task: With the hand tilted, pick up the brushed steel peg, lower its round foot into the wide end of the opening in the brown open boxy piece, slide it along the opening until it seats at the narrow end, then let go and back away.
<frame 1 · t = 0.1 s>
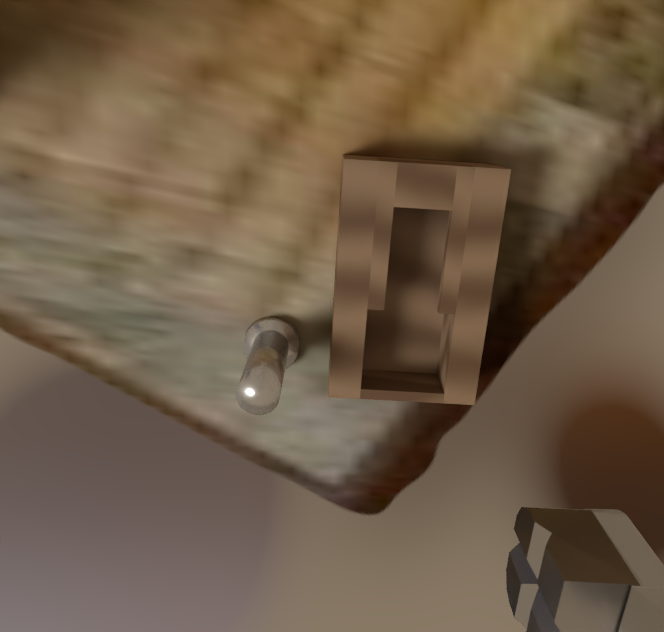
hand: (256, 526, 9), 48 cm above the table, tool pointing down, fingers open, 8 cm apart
brown open boxy piece: (406, 274, 57), on the table
steel peg: (272, 342, 60), on the table
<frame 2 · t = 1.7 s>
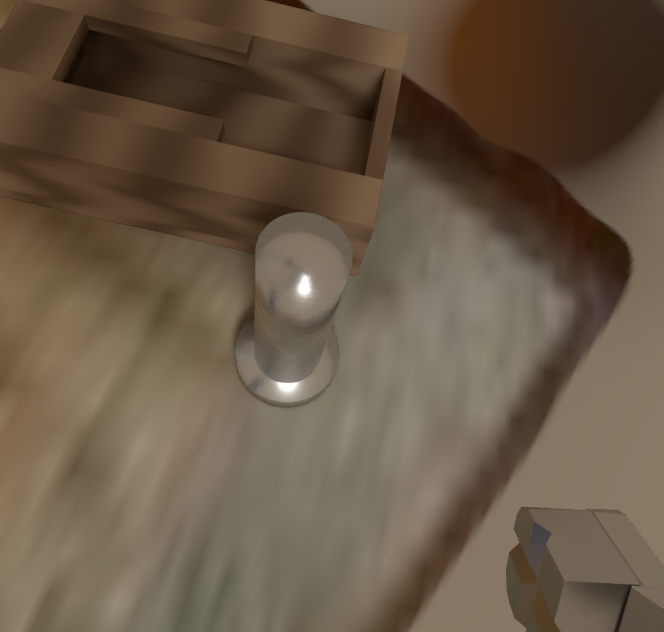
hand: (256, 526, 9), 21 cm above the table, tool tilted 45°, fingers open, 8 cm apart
brown open boxy piece: (207, 143, 37), on the table
steel peg: (286, 358, 32), on the table
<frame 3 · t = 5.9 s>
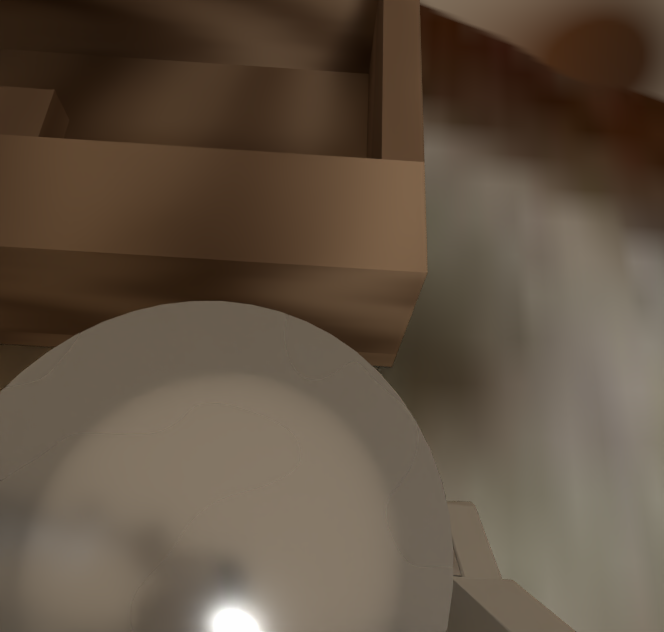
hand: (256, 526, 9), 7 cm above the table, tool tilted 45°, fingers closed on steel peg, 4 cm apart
brown open boxy piece: (77, 160, 20), on the table
steel peg: (273, 581, 15), on the table, touching gripper
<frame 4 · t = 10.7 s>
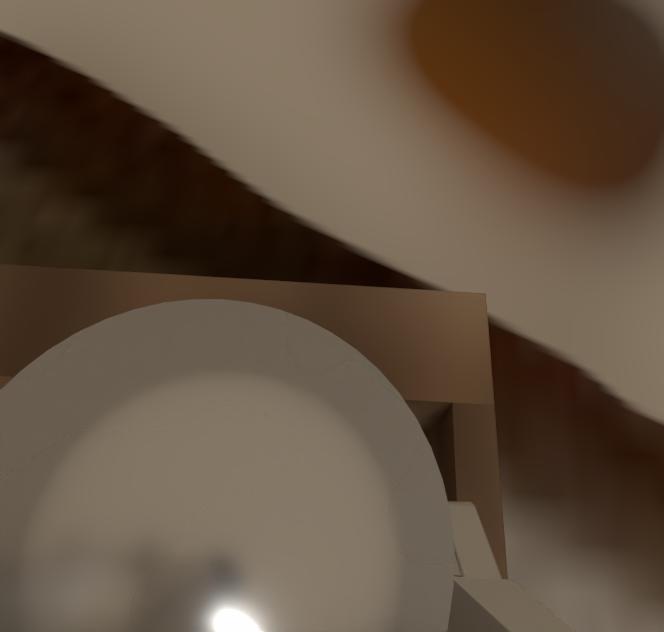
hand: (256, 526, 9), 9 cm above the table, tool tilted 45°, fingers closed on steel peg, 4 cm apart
brown open boxy piece: (72, 572, 17), on the table
steel peg: (273, 580, 15), point 3 cm above the table, touching gripper
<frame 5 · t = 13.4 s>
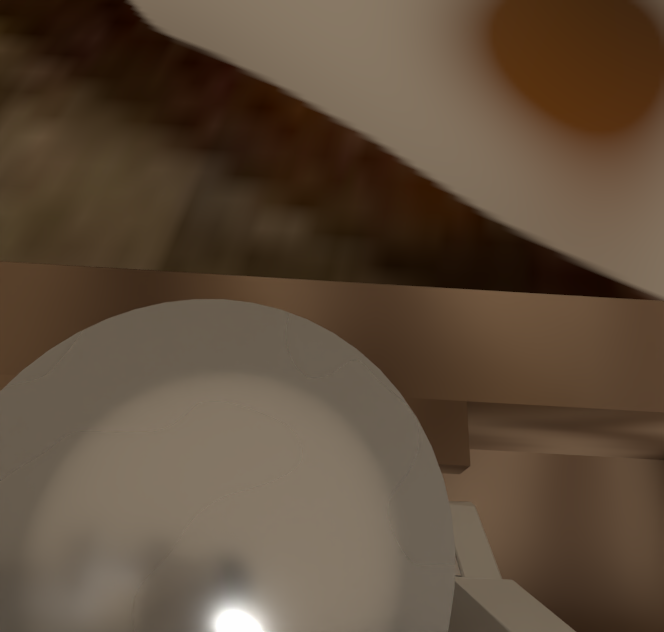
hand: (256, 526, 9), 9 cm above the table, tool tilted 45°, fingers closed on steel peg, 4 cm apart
brown open boxy piece: (358, 588, 17), on the table
steel peg: (273, 580, 15), point 2 cm above the table, touching gripper
when the fingers open (9 cm above the table, at t = 15.6 s): steel peg drops 2 cm, resting on brown open boxy piece.
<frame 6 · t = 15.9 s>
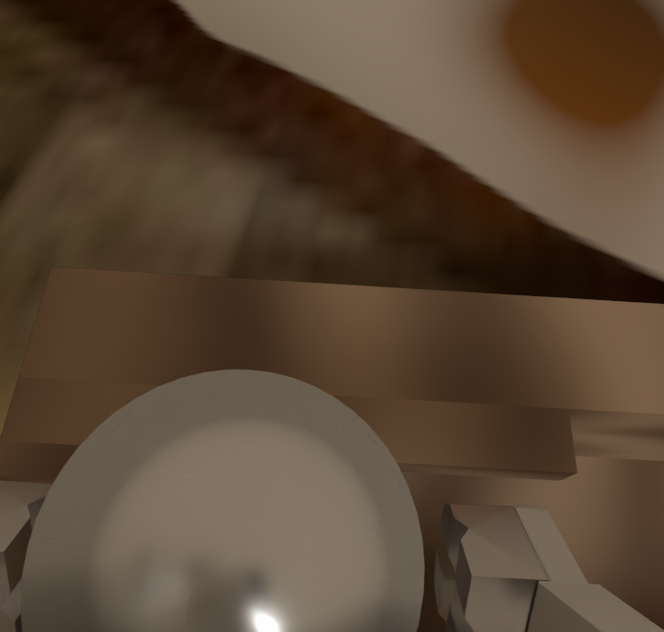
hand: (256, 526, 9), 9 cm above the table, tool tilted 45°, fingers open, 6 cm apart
brown open boxy piece: (441, 592, 17), on the table
steel peg: (275, 582, 16), point 1 cm above the table, touching brown open boxy piece
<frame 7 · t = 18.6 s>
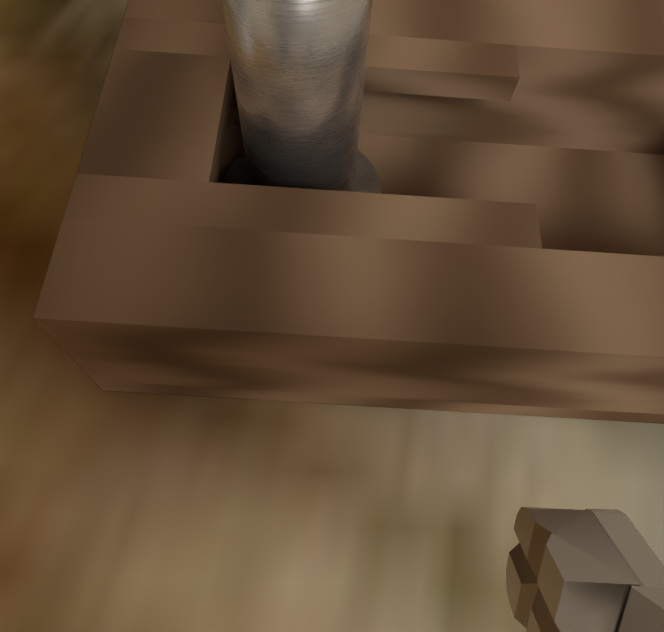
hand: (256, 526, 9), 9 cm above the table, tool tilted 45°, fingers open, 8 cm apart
brown open boxy piece: (426, 235, 23), on the table
steel peg: (302, 211, 22), point 1 cm above the table, touching brown open boxy piece
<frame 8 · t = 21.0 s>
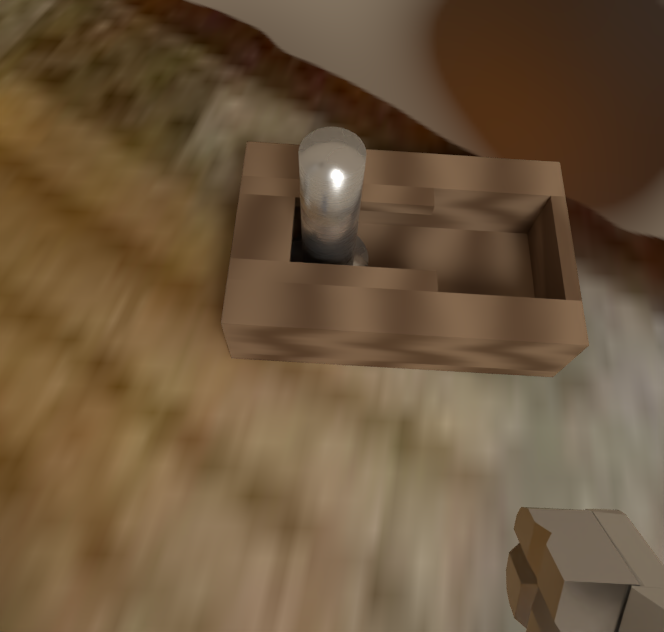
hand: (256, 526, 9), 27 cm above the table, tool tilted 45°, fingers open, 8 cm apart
brown open boxy piece: (393, 278, 43), on the table
steel peg: (327, 266, 42), point 1 cm above the table, touching brown open boxy piece
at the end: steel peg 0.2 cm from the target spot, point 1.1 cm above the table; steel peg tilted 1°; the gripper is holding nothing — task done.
